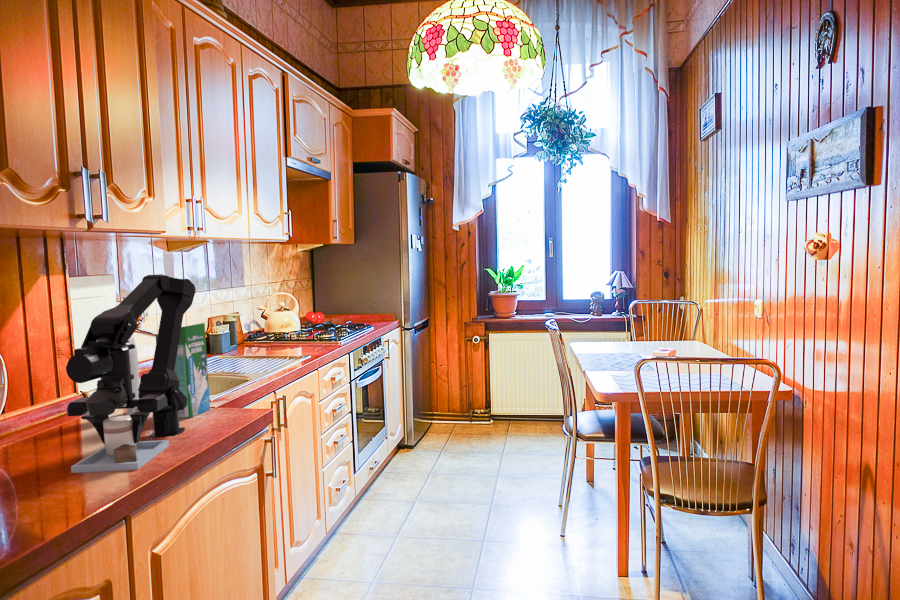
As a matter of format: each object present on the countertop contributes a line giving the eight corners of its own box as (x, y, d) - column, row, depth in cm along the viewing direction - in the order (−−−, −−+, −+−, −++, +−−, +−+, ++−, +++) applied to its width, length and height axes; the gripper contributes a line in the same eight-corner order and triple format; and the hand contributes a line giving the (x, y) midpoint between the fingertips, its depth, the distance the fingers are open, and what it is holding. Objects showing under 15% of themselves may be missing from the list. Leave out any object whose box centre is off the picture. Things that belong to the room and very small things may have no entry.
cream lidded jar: (114, 446, 130) (111, 416, 129) (142, 445, 130) (140, 414, 130) (99, 456, 124) (96, 423, 123) (129, 454, 124) (126, 422, 124)
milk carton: (182, 408, 168) (176, 322, 167) (210, 409, 167) (204, 322, 165) (161, 417, 160) (154, 326, 158) (190, 418, 158) (184, 326, 156)
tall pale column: (138, 418, 160) (132, 338, 158) (121, 419, 159) (115, 339, 157) (146, 408, 170) (141, 333, 168) (131, 410, 169) (125, 334, 167)
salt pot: (121, 461, 123) (119, 441, 123) (140, 460, 123) (139, 441, 123) (111, 468, 119) (109, 448, 119) (131, 467, 119) (129, 447, 119)
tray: (110, 450, 132) (109, 442, 132) (169, 447, 133) (168, 439, 133) (71, 475, 117) (70, 466, 117) (138, 471, 118) (137, 463, 118)
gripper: (47, 383, 117) (54, 458, 119) (142, 378, 118) (148, 453, 120) (79, 372, 128) (84, 441, 130) (165, 368, 130) (170, 437, 131)
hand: (121, 443), depth 127 cm, fingers closed on cream lidded jar, 6 cm apart
